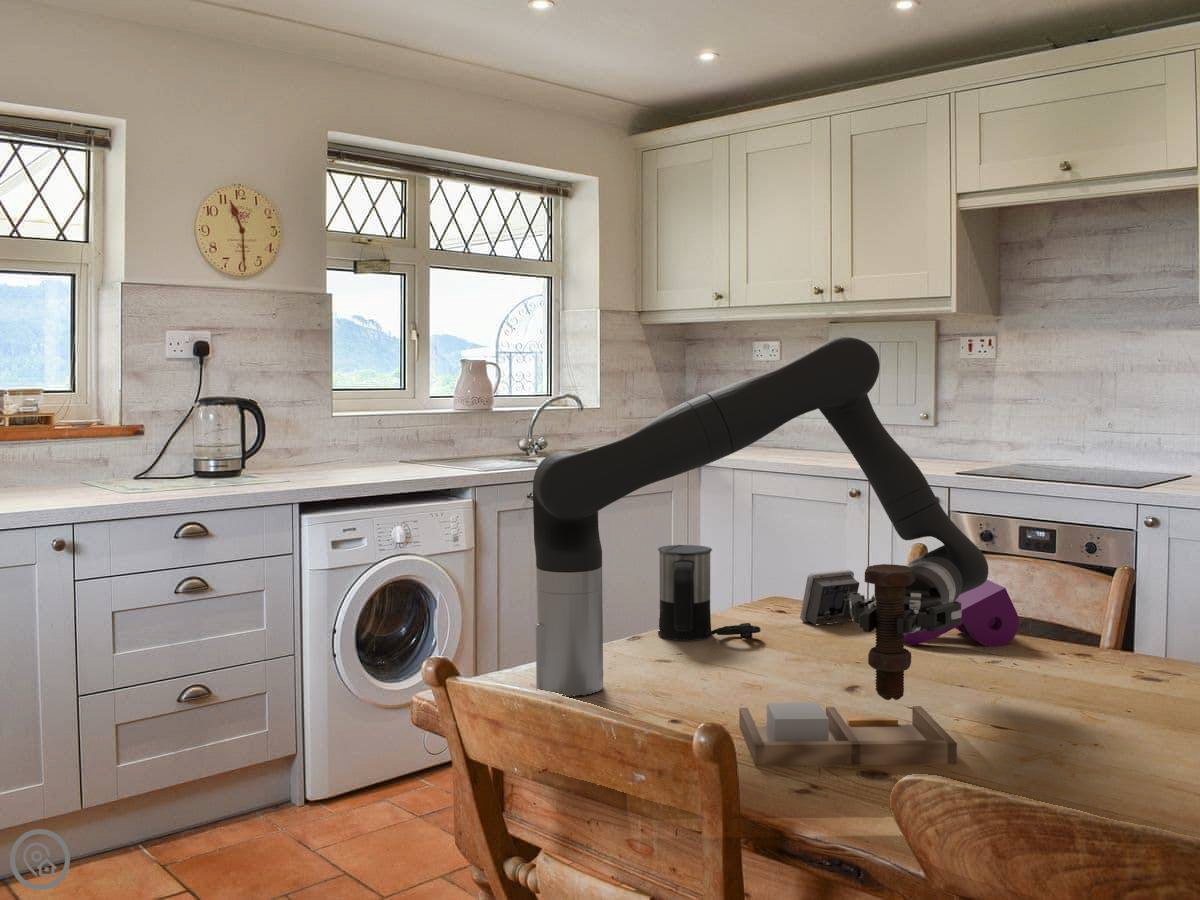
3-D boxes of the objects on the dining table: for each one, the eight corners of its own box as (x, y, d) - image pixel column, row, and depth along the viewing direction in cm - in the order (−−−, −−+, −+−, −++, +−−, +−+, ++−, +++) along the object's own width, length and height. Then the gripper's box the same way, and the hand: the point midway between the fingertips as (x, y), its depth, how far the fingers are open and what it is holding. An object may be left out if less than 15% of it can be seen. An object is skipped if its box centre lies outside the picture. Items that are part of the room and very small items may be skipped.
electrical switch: (842, 616, 192) (846, 566, 191) (860, 625, 188) (863, 574, 186) (798, 622, 188) (801, 571, 187) (815, 631, 184) (819, 579, 182)
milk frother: (651, 630, 183) (651, 544, 182) (739, 625, 186) (739, 541, 185) (673, 651, 169) (672, 558, 168) (767, 645, 172) (768, 554, 171)
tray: (755, 776, 117) (755, 745, 116) (738, 733, 130) (738, 705, 130) (956, 774, 117) (956, 743, 116) (918, 732, 130) (918, 704, 130)
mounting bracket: (927, 685, 170) (1026, 634, 171) (905, 639, 169) (1005, 587, 170) (906, 668, 180) (1000, 620, 180) (885, 624, 179) (979, 576, 179)
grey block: (775, 754, 120) (775, 719, 120) (766, 735, 126) (766, 702, 126) (828, 753, 120) (828, 718, 120) (817, 735, 126) (817, 702, 126)
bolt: (907, 689, 125) (908, 563, 124) (921, 702, 120) (922, 571, 119) (858, 690, 125) (858, 564, 124) (870, 704, 120) (871, 573, 119)
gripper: (864, 561, 138) (821, 586, 123) (978, 570, 131) (948, 598, 116) (864, 618, 138) (822, 650, 123) (977, 630, 131) (947, 666, 116)
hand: (883, 625), depth 120 cm, fingers closed on bolt, 3 cm apart
